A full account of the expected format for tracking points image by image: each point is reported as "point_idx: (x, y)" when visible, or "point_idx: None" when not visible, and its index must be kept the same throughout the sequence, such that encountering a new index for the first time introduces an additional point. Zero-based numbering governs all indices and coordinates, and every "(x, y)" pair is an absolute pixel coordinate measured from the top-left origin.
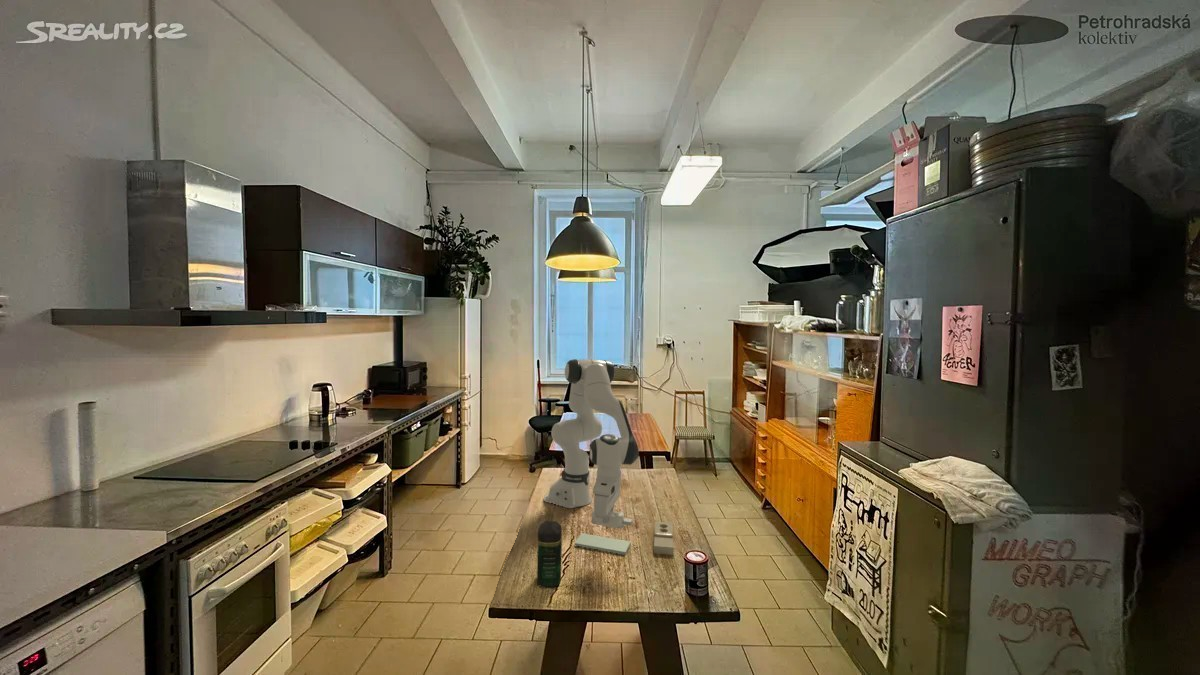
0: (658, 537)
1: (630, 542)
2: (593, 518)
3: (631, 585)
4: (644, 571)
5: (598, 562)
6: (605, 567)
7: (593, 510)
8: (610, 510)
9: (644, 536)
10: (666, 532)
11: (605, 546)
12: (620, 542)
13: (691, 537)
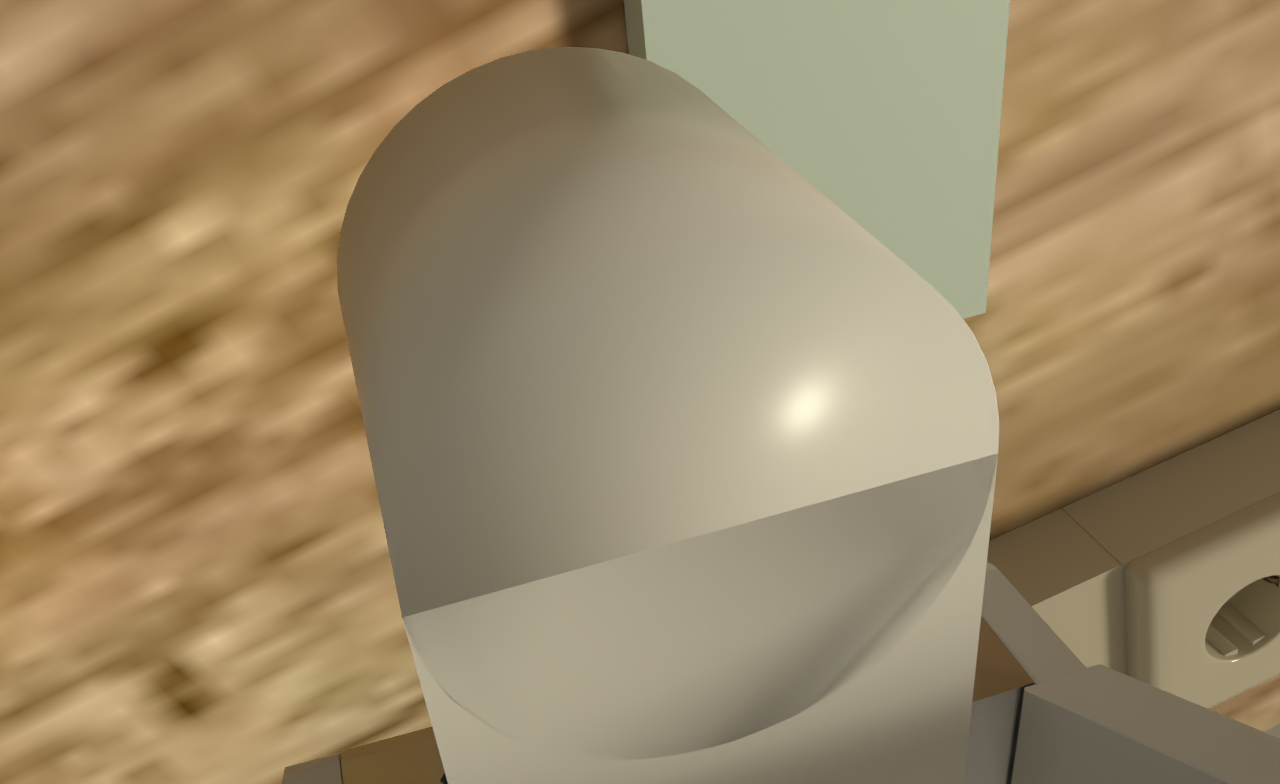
0: (1106, 610)
1: (965, 315)
2: (370, 323)
3: (5, 767)
4: (409, 718)
5: (235, 104)
6: (169, 285)
7: (695, 326)
8: (1024, 768)
9: (1202, 341)
10: (1204, 665)
11: (710, 24)
12: (919, 192)
13: (1243, 714)
